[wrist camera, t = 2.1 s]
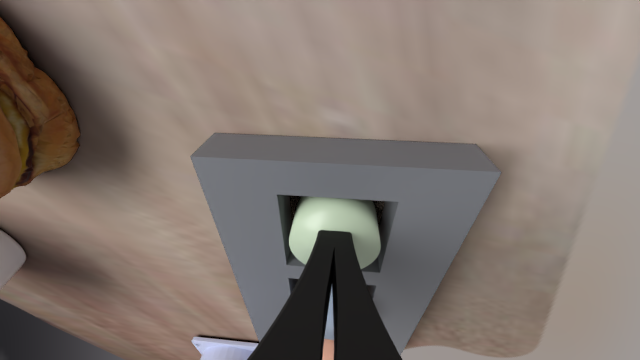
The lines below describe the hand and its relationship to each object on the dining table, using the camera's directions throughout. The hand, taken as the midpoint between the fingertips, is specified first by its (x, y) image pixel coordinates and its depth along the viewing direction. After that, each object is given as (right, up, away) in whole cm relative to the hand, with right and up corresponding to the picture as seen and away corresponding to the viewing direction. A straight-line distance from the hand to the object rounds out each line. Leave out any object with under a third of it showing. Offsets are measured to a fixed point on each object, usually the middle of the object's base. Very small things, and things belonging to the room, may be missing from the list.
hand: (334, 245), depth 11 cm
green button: (0, +1, +2) cm, 2 cm away
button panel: (0, -3, +6) cm, 6 cm away
